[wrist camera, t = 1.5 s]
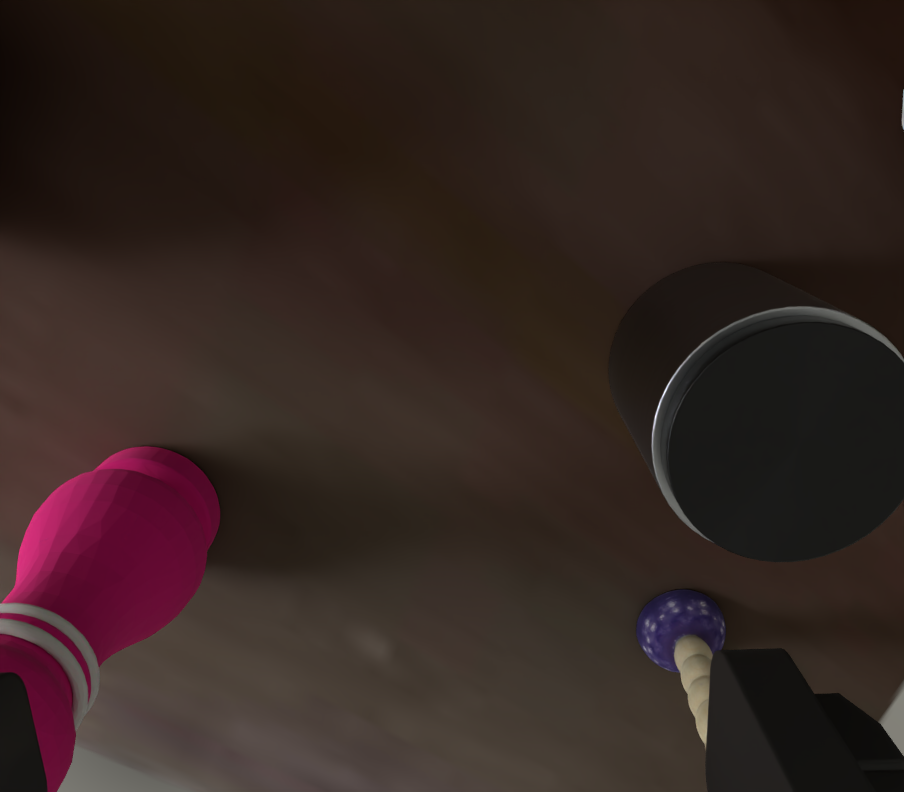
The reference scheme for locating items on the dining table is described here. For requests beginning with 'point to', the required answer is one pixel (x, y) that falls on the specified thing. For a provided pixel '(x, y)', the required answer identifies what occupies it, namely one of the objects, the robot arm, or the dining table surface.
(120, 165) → the dining table surface
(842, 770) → the robot arm
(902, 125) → the coffee cup
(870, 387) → the grey metal canister
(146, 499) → the pepper mill
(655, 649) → the toy lamp
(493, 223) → the dining table surface
